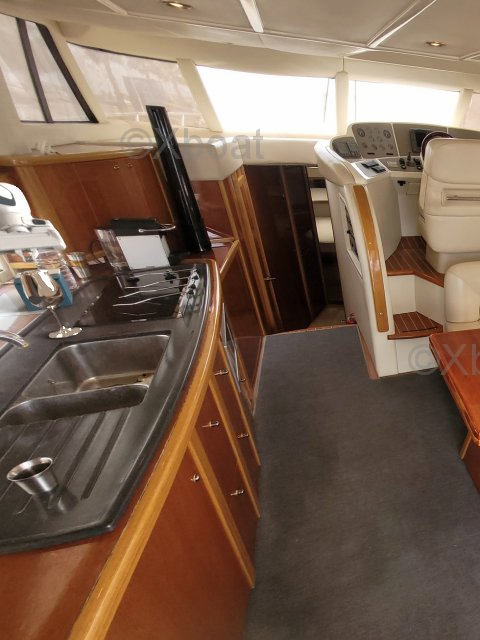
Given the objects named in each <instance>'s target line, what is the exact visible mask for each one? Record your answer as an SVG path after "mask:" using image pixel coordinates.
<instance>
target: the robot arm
mask: <svg viewBox="0 0 480 640" xmlns="http://www.w3.org/2000/svg"><path fill="white" fill-rule="evenodd" d="M31 211H32V210H31V208H30V204H29V202H28V201H27V198H26V197H25V195H24V194H23V192H22V191H21V190H20V189H19V188H18V187H16V186H15V185H13V184H10V183H7V182H3V181H2V182H1V181H0V256H4V255H5V256H6V255H15V254H16V255H17V256H18V257H19V258H21V260H22V261H23V263H24V264H34V263H38V261H37V258H38V256H39V254H40V252H53V251H64V250H66V249H67V245H66V242H65V241H64V239H63V237H62V236H61V234H60V232H59V231H58V230H57V229H56V228H55V226H54V225H53V223H52V222H51V221H50V220H47V219H42V218H36V217H32V214H31ZM27 253H29V254H31V255H24V254H27Z"/></svg>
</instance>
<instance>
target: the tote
mask: <svg viewBox="0 0 480 640" xmlns="http://www.w3.org/2000/svg"><path fill="white" fill-rule="evenodd" d="M50 275H51V276H52V278H53V279H54V280H55V281H56V283H57V284H58V285H59V286H60V288H61V289H62V291H63V293H64V301H63V303H62V304H61V305H60V306H58V307H57V308H62V307H68V306H73V293H72V294H71V292H72V290H71V288H70V286H69V284H68V282H67V280H66V279H65V277H64V274H63V272H62V271H61V269H60V274H59V273H55V274H50ZM12 283H13V285H14V287H15V289H16V291H17V293H18V295H19V297H20V298H21V300H22V302H23V304H24V305H25V307H26V309H27V311H28V312H36V311H41V310H42V311H43V310H45V309H44V308H40V307H37V306H35V305H33V304H32V303H30V302H29V301H28V299H27V298H26V296H25V293H24V290H23V287H22V283H21V278H16V277H14V280H13V282H12Z"/></svg>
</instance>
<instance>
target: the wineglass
mask: <svg viewBox="0 0 480 640" xmlns="http://www.w3.org/2000/svg"><path fill="white" fill-rule="evenodd" d="M46 270H47V269H43V268H42V269H39V268H38V269H29V270H24V271H22V272H19V273H20V278H21V283H22V287H23V290H24V293H25V296H26V298H27V299H28V301H29V302H30V303H32V304H33V305H35V306H37V307H40V308H44V309H43V310H50V312H51V313H52V314H53V316H54V317H55V319H56V321H57V323H58V325H59V327H60V329H56V330H53V331H51V332H50V333H49V334H48V338H50V339H64V338H65V339H66V338H69V337H73V336H75V335H78V334H80V333H81V332H82V328H80V327H77V326H76V327H72V326H71V327H65V326H64V324H63V322H62V321H61V319H60V316H59V315H58V313H57V308H59V307H58V306H60V305H61V304H62V303H63V301H64V293H63V291H62V289H61V288H60V286H59V285H58V284H57V283H56V281H55V280H54V279H53V278H52V276H51V275H50V274H49V273H48V272H47V271H46Z"/></svg>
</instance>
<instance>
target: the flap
mask: <svg viewBox="0 0 480 640" xmlns="http://www.w3.org/2000/svg"><path fill="white" fill-rule="evenodd" d="M45 270H46V271H47V272H48V273H49V274H55V273H59V274H60V270H61V269H60V268H51V269H45ZM20 273H21V272H17V273H16V275H15V278H20Z"/></svg>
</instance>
